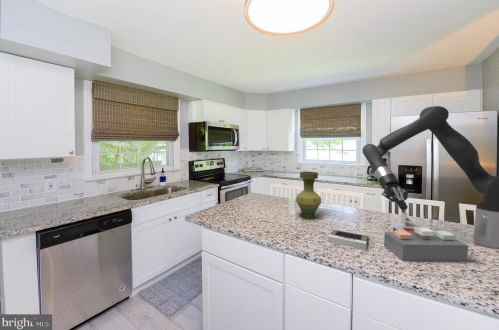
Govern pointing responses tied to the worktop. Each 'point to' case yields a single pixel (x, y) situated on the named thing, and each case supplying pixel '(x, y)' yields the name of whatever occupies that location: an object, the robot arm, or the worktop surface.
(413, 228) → the calculator
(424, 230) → the cream key
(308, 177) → the vase
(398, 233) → the terracotta key
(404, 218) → the architectural model
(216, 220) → the worktop surface
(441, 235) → the sage key
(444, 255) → the key console
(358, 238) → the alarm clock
